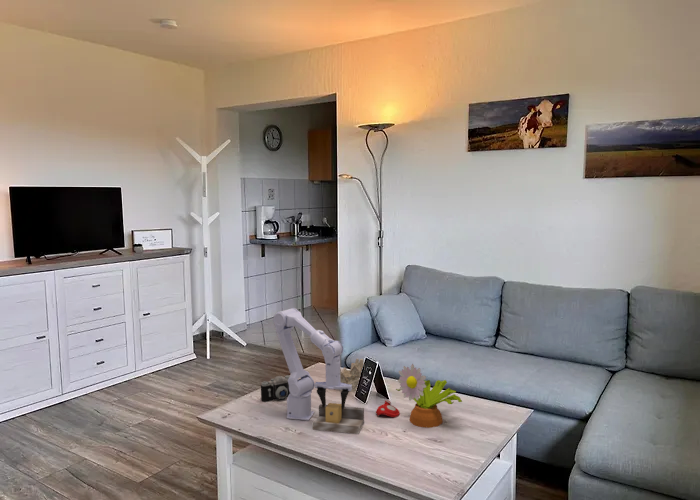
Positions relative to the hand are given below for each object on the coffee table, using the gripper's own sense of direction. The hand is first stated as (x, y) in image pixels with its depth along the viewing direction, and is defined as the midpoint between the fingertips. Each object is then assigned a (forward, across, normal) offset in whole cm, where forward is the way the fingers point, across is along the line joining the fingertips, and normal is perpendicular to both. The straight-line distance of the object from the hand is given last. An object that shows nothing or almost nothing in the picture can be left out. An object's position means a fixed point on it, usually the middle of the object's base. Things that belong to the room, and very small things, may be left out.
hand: (333, 406), depth 201 cm
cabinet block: (+6, 0, 0) cm, 6 cm away
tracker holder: (+8, +19, +17) cm, 27 cm away
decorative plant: (+8, +36, +13) cm, 39 cm away
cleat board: (+8, +2, 0) cm, 8 cm away
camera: (+8, -31, +20) cm, 38 cm away
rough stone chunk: (+8, -4, +43) cm, 44 cm away
